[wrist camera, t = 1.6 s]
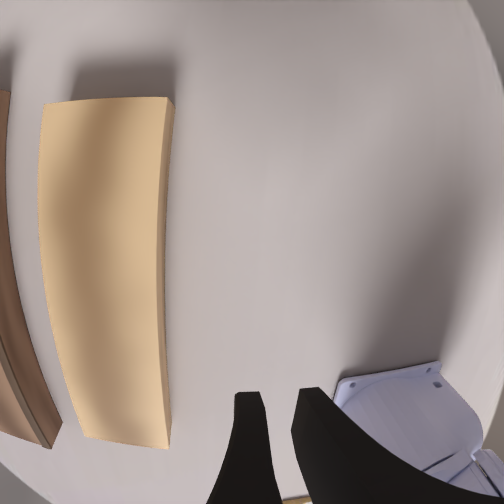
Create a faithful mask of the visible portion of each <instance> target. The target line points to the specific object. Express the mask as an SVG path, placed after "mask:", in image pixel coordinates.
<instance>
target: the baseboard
mask: <svg viewBox="0 0 504 504" xmlns="http://www.w3.org/2000/svg"><path fill="white" fill-rule="evenodd" d="M282 503H283V504H313V503H312V501H311V498H310V497H305V498H299V499H293V500H287V501H282Z"/></svg>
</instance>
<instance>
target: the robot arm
mask: <svg viewBox="0 0 504 504" xmlns="http://www.w3.org/2000/svg"><path fill="white" fill-rule="evenodd" d="M441 367H442V363H441V362H440V361H435V362H431V363H426V364H422V365H417V366H413V367H408V368H403V369H398V370H392V371H387V372H381V373H375V374H369V375H362V376H356V377H348V378H344V379H342V380H341V381H340V382H339V383H338V386H337V390H336V393H335V397H334V400H333V401H332V400H331V399H330V398H329V397H328V396H327V395H326V394H325V393H324V392H323V391H322V390H321V389H320V388H319V387H313V388H303V389H300V390H299V395H298V400H297V405H296V409H295V414H294V419H293V423H292V428H291V434H292V439H293V445H294V449H295V454H296V458H297V461H298V464H299V467H300V470H301V473H302V476H303V479H304V481H305V484H306V487H307V490H308V492H309V495H310V498H311V501H312V503H313V504H504V463H503V462H502V461H501V460H500V459H499V457H498V456H497V455H496V454H495V453H494V452H493V451H492V450H491V449H484V450H481V447H482V443H483V430H482V425H481V422H480V420H479V417H478V416H477V414H476V413H475V411H474V410H473V409H472V408H471V407H470V406H469V405H468V403H467V402H466V401H465V400H464V399H463V398H462V397H461V396H460V395H459V394H458V393H457V391H456V390H455V389H454V388H453V387H452V386H451V385H450V384H449V383H448V382H447V381H446V380H445V379H444V378H443V376H442V375H441V374H440V373H439V372H440V369H441ZM351 383H353V384H351ZM350 384H351V385H350ZM475 459H477V461H478V462H479V464H480V465H479V466H480V467H481V468H482V470H483V471H484V472H485V474H486V475H487V477H486V476H485V475H484V474H483V472H482V471H481V469H480V468H479V467H478V465H477V464H476V463H475ZM206 504H283V503H282V499H281V496H280V493H279V489H278V486H277V482H276V479H275V475H274V470H273V465H272V457H271V450H270V442H269V434H268V426H267V419H266V411H265V407H264V404H263V401H262V398H261V395H260V392H259V391H258V392H238V393H237V394H235V400H234V422H233V428H232V432H231V436H230V441H229V445H228V448H227V452H226V455H225V458H224V461H223V464H222V467H221V470H220V472H219V475H218V478H217V480H216V483H215V485H214V487H213V490H212V492H211V494H210V496H209V499H208V501H207V503H206Z"/></svg>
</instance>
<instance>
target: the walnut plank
mask: <svg viewBox="0 0 504 504" xmlns="http://www.w3.org/2000/svg"><path fill="white" fill-rule="evenodd" d="M10 94H11V92H7V91H4V90H0V431H2V432H5V433H7V434H10V435H13V436H15V437H18V438H21V439H24V440H27V441H30V442H33V443H36V444H39V445H42V447H44V448H47V449H52V446H53V444H54V442H55V439H56V437H57V435H58V432H59V430H60V428H61V425H62V423H63V422H62V420H61V418H60V416H59V414H58V412H57V409H56V407H55V405H54V402H53V400H52V398H51V395H50V393H49V391H48V388H47V386H46V383H45V380H44V378H43V375H42V372H41V370H40V367H39V364H38V361H37V358H36V355H35V352H34V349H33V346H32V343H31V340H30V336H29V333H28V329H27V326H26V322H25V318H24V315H23V311H22V306H21V302H20V298H19V293H18V289H17V284H16V279H15V273H14V267H13V261H12V255H11V248H10V240H9V231H8V221H7V208H6V188H5V153H6V133H7V120H8V110H9V102H10Z"/></svg>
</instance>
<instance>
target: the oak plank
mask: <svg viewBox="0 0 504 504" xmlns="http://www.w3.org/2000/svg"><path fill="white" fill-rule="evenodd" d="M174 114H175V107H174V105H173V104H172V103H171V101H170V100H169V98H168V97H122V98H102V99H88V100H76V101H67V102H58V103H50V104H44V108H43V116H42V124H41V134H40V145H39V160H38V227H39V242H40V254H41V264H42V273H43V280H44V287H45V294H46V300H47V306H48V312H49V317H50V322H51V327H52V331H53V336H54V340H55V345H56V349H57V353H58V357H59V360H60V364H61V368H62V371H63V375H64V378H65V381H66V385H67V388H68V391H69V394H70V397H71V400H72V403H73V406H74V409H75V412H76V414H77V417H78V420H79V422H80V425H81V427H82V430H83V433H84V435H85V436H86V437H91V438H95V439H100V440H105V441H111V442H116V443H122V444H129V445H135V446H143V447H151V448H160V449H169V445H170V435H171V425H172V421H171V411H170V399H169V387H168V372H167V355H166V331H165V234H166V209H167V191H168V177H169V164H170V152H171V141H172V131H173V122H174Z"/></svg>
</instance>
